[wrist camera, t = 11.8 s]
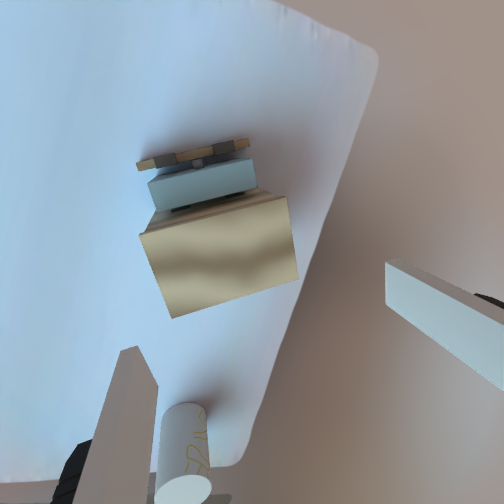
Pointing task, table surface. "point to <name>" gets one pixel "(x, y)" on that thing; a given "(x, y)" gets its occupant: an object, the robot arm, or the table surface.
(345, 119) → the table surface
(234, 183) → the door
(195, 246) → the cabinet
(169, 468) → the cup
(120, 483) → the robot arm
